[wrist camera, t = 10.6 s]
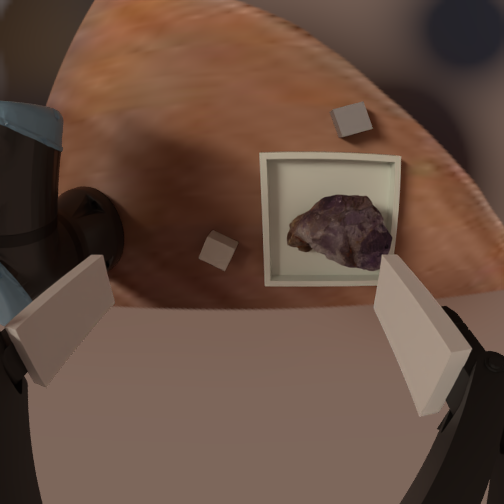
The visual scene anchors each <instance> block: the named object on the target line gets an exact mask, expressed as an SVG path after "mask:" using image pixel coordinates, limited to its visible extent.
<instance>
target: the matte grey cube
mask: <svg viewBox="0 0 504 504" xmlns="http://www.w3.org/2000/svg"><path fill="white" fill-rule="evenodd" d="M238 243H239V242H237V241H235V240H233V239H231V238H229V237H227V236H225V235H222V234H220V233H218V232H216V231H214V230H212V231H211V233H210V234H209V235H208V236H207V239H206V241H205V243H204V246H203V248H202V251H201V253H200V256H199V258H198V259H200V260H203V261H205V262H207V263H209V264H211V265H213V266H215V267H217V268H219V269H221V270H223V271H225V270H226V268H227V266H228V264H229V262H230V260H231V258H232V256H233V254H234V251H235V249H236V247H237V245H238Z"/></svg>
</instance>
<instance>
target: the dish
mask: <svg viewBox="0 0 504 504" xmlns="http://www.w3.org/2000/svg"><path fill="white" fill-rule="evenodd" d="M259 155H260V177H261V200H262V225H263V252H264V281H265V286H377V285H378V278H379V272H380V269H379V270H376V271H368V270H363V269H360V268H349V267H346V266H342V265H340V264H338V263H336V262H335V261H332V260H329V259H327V258H326V256H325V255H324V254H321V253H317V252H316V251H315V250H314V249H312V250H311V251H309V252H302V251H299V250H298V248H297V247H291V246H289V245H287V234H288V232H289V230H290V227H289V224H290V223H291V222H292V220H294V219H295V218H296V217H297V216H298V215H301V214H303V213H305V212H307V211H308V210H310V209H311V208H312V207H313V206H314V204H315V203H316V202H318V201H320V199H322V198H324V197H328V196H333V195H337V194H340V195H348V196H350V195H359V196H367V197H368V198H369V199H370V200H371V201H372V204H373V205H374V206H375V207H376V208H377V209H378V210H379V212H380V213H381V215H382V217H383V218H384V221H383V223H384V225H385V227H386V228H387V229H388V231H389V233H390V234H391V236H392V243H391V248H390V251H389V254H388V255H394V250H395V242H396V233H397V223H398V211H399V197H400V176H401V156H396V155H386V154H371V153H351V152H261V153H259Z"/></svg>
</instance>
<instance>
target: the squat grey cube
mask: <svg viewBox="0 0 504 504" xmlns="http://www.w3.org/2000/svg"><path fill="white" fill-rule="evenodd" d="M330 115H331V118H332V120H333V123H334V126H335V128H336V131H337V134H338V137H345V136H349V135H352V134H356V133H359V132H363V131H366V130H370V129H373V127H372V125H371V122H370V119H369V116H368V113H367V110H366V108H365V105H364V102H359V103H356V104H352V105H348V106H344V107H341V108H337V109H333V110H332V111H330Z"/></svg>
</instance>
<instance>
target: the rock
mask: <svg viewBox="0 0 504 504" xmlns="http://www.w3.org/2000/svg"><path fill="white" fill-rule="evenodd" d="M383 221H384V218H383V217H382V215H381V213H380V212H379V210H378V209H377V208H376V207H375V206H374V205H373V204H372V201H371V200H370V199H369V198H368V197H367V196H359V195H350V196H348V195H340V194H337V195H333V196H328V197H324V198H322V199H320V201H318V202H316V203H315V204H314V206H313V207H312V208H311V209H310V210H308V211H307V212H305V213H303V214H301V215H298V216H297V217H296V218H295V219H294V220H292V222H291V223H290V224H289V227H290V230H289V232H288V234H287V245H289V246H291V247H297V248H298V250H299V251H302V252H309V251H311V250H312V249H314V250H315V251H316V252H317V253H321V254H324V255H325V256H326V258H327V259H329V260H332V261H335V262H336V263H338V264H340V265H342V266H346V267H349V268H360V269H363V270H368V271H376V270H379V269H380V265H381V258H382V255H388V254H389V251H390V248H391V243H392V236H391V234H390V233H389V231H388V229H387V228H386V227H385V225H384V223H383Z"/></svg>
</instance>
